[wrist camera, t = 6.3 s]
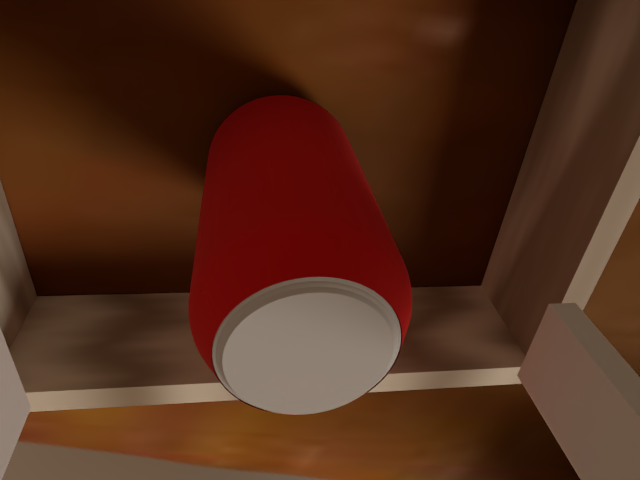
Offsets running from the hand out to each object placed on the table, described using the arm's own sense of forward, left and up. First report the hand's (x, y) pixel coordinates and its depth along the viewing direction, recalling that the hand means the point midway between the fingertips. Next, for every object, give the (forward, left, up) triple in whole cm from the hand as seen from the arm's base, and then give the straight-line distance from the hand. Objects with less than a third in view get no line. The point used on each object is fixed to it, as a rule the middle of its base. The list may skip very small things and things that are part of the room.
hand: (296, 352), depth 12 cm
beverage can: (0, 0, -12) cm, 12 cm away
